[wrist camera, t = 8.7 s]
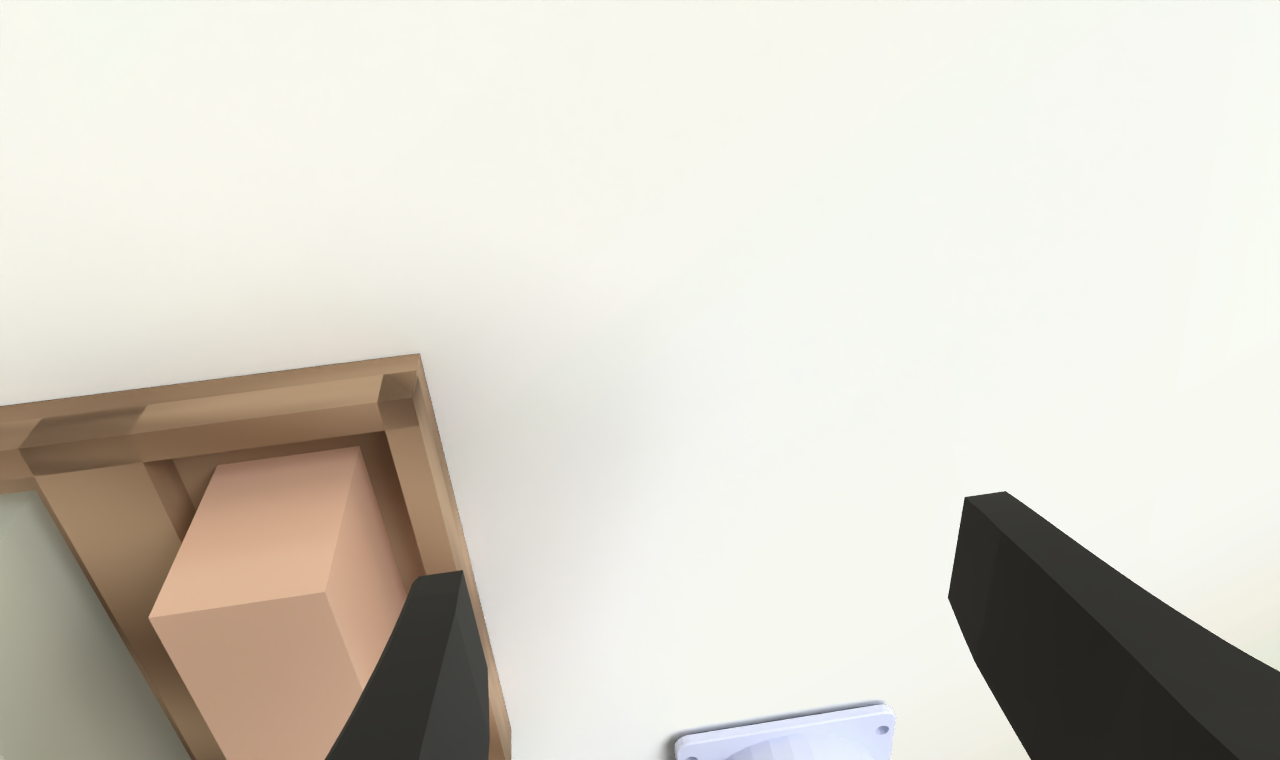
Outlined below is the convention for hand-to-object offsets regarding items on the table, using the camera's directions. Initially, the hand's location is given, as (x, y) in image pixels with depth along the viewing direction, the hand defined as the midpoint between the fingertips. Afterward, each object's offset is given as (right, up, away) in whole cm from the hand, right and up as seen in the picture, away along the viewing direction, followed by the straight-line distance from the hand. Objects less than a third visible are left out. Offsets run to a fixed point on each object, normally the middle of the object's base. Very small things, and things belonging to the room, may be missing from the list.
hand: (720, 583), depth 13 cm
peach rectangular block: (-9, -4, +12) cm, 16 cm away
